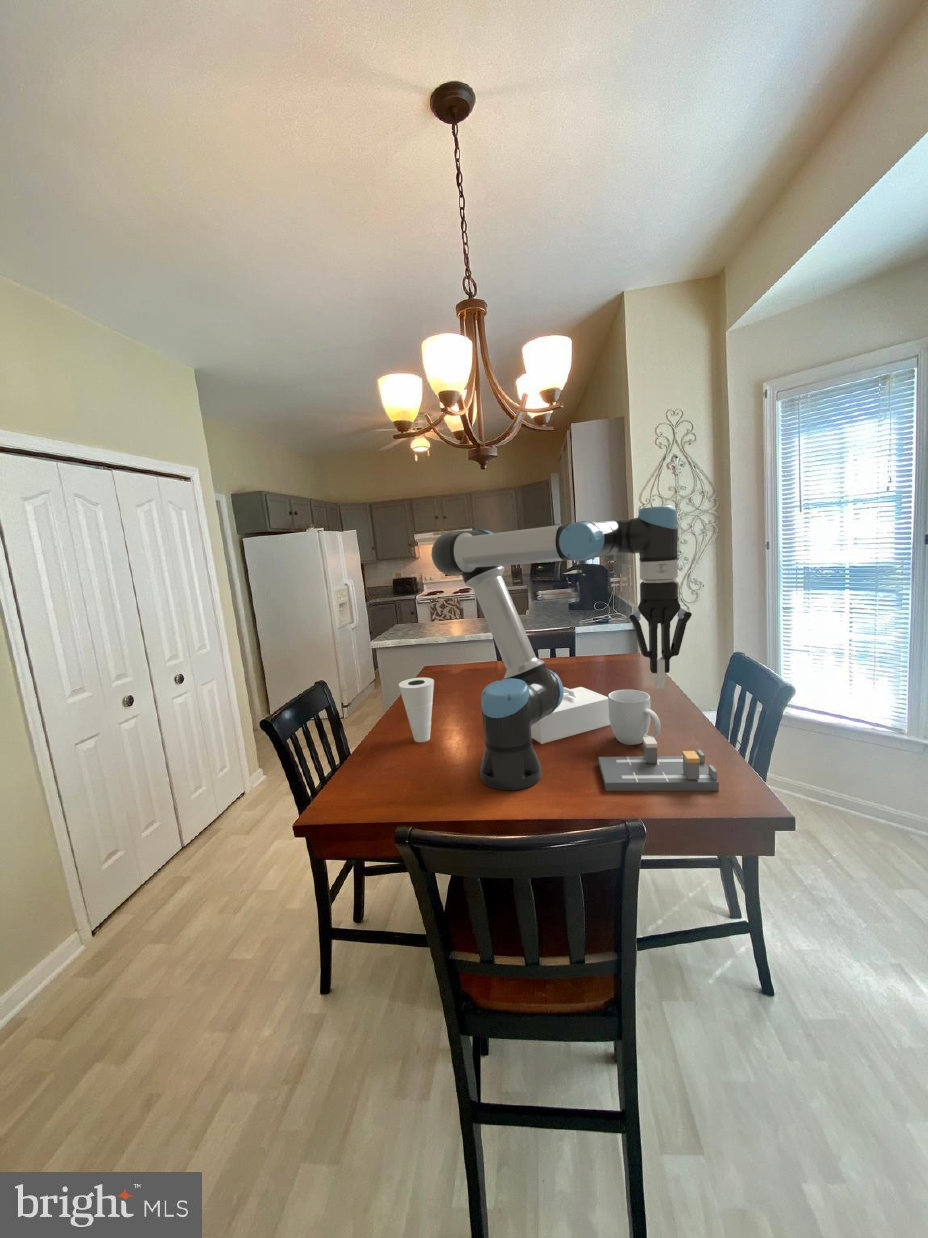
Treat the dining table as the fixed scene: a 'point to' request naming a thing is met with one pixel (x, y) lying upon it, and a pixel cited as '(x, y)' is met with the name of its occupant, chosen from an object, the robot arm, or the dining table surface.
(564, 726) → the tissue box
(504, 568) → the robot arm
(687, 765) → the fader orange
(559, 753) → the dining table surface
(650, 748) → the fader cream
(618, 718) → the mug
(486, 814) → the dining table surface
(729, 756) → the dining table surface
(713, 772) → the console
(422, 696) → the white paper towel roll
